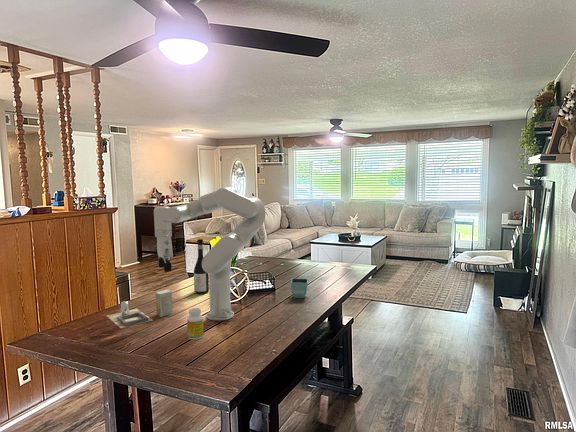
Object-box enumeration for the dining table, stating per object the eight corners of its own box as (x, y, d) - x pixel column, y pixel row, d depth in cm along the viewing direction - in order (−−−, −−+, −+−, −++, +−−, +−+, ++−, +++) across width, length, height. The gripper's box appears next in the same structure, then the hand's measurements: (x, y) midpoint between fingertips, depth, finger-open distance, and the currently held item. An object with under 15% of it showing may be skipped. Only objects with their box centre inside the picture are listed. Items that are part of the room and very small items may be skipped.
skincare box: (168, 314, 188) (167, 289, 187) (173, 316, 185) (172, 291, 184) (156, 317, 184) (154, 292, 182) (160, 320, 181) (159, 294, 179)
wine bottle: (205, 294, 218) (203, 240, 215) (192, 294, 220) (190, 240, 217) (211, 290, 226) (209, 238, 223) (198, 289, 228) (196, 238, 225)
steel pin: (129, 314, 184) (129, 302, 183) (122, 316, 182) (122, 303, 181) (127, 313, 186) (126, 300, 185) (120, 314, 184) (120, 301, 183)
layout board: (153, 323, 177) (153, 316, 177) (120, 331, 168) (120, 324, 167) (137, 311, 192) (136, 305, 192) (106, 318, 183) (106, 312, 183)
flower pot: (308, 294, 217) (308, 278, 216) (307, 299, 209) (307, 282, 208) (292, 294, 218) (292, 278, 217) (290, 299, 209) (290, 282, 208)
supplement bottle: (195, 341, 157) (194, 313, 156) (184, 338, 161) (183, 310, 160) (206, 335, 163) (206, 309, 162) (195, 332, 166) (194, 306, 165)
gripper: (176, 234, 180) (178, 271, 182) (166, 230, 194) (168, 264, 196) (159, 236, 176) (161, 274, 178) (150, 231, 191) (152, 266, 192)
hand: (165, 269), depth 187 cm, fingers open, 9 cm apart
